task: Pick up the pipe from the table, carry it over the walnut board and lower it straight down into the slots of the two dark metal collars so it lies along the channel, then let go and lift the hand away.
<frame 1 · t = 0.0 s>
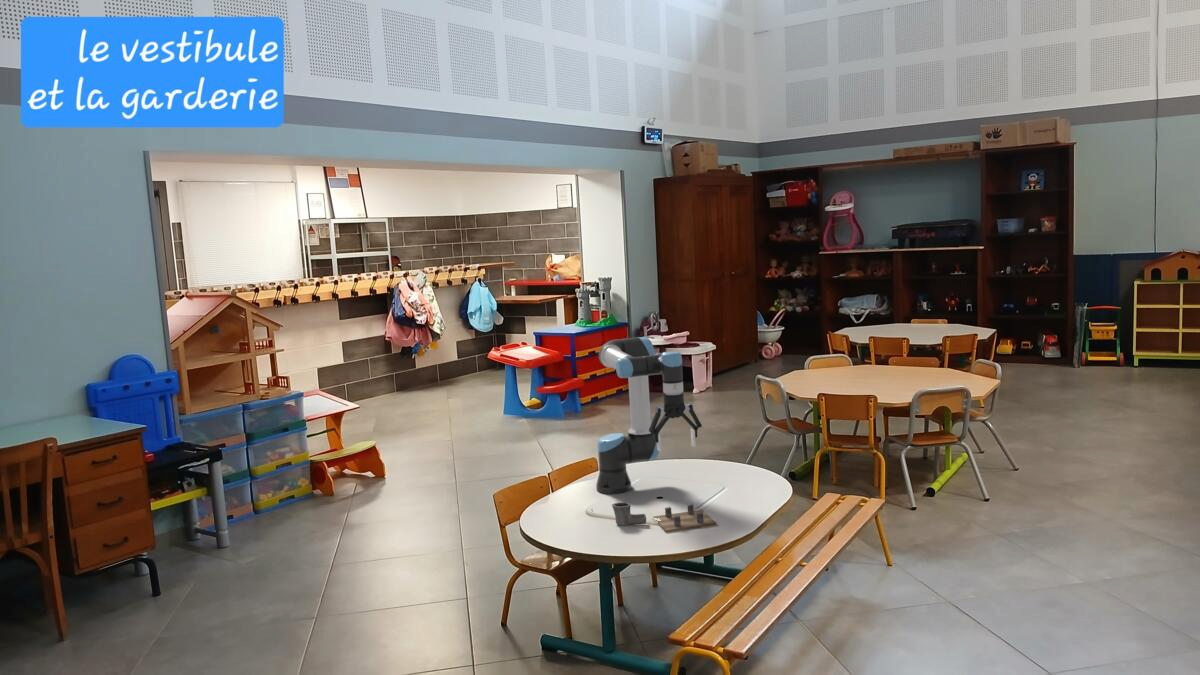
hand: (676, 448, 324), 28 cm above the table, tool pointing down, fingers open, 13 cm apart
pipe: (629, 525, 326), on the table
collar cradle: (684, 522, 325), on the table
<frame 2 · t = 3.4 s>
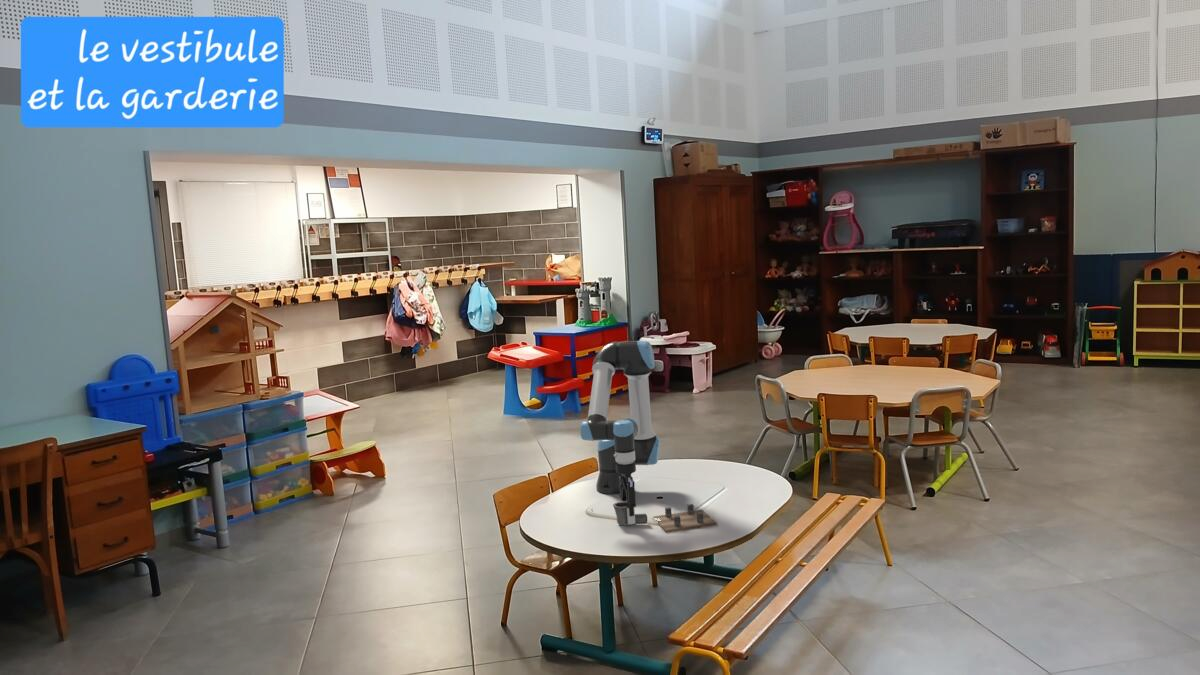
hand: (629, 520, 326), 2 cm above the table, tool pointing down, fingers closed on pipe, 6 cm apart
pipe: (630, 524, 326), on the table, touching gripper
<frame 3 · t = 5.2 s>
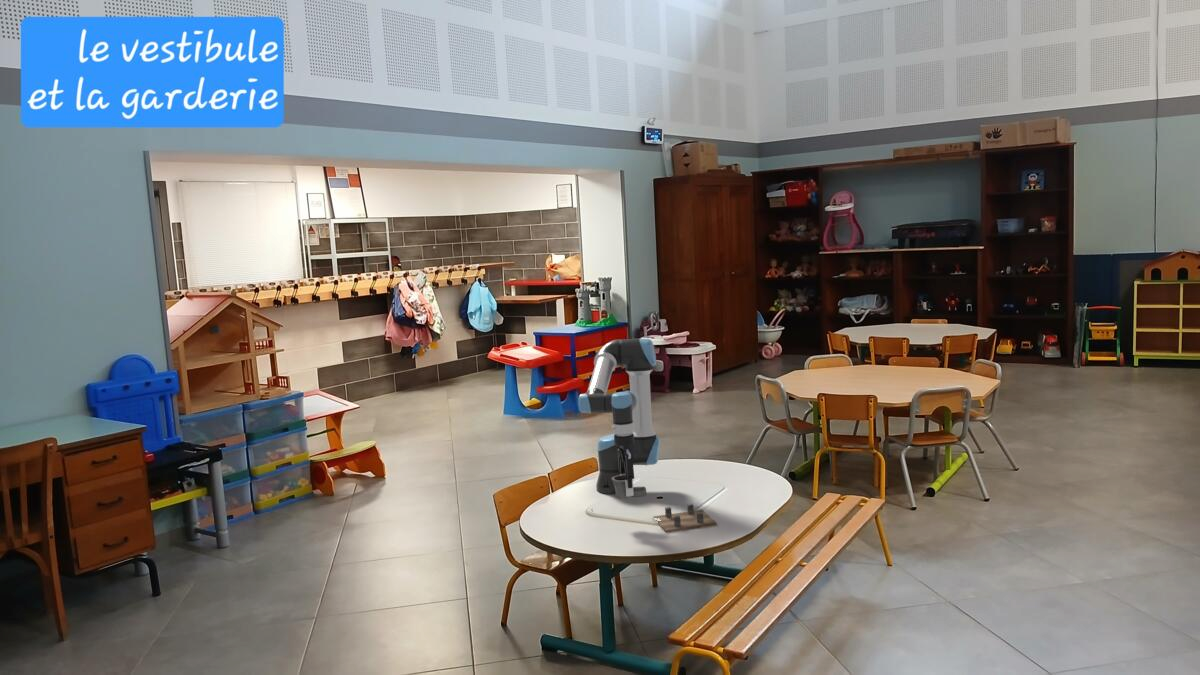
hand: (627, 493, 325), 12 cm above the table, tool pointing down, fingers closed on pipe, 6 cm apart
pipe: (629, 497, 325), point 10 cm above the table, touching gripper
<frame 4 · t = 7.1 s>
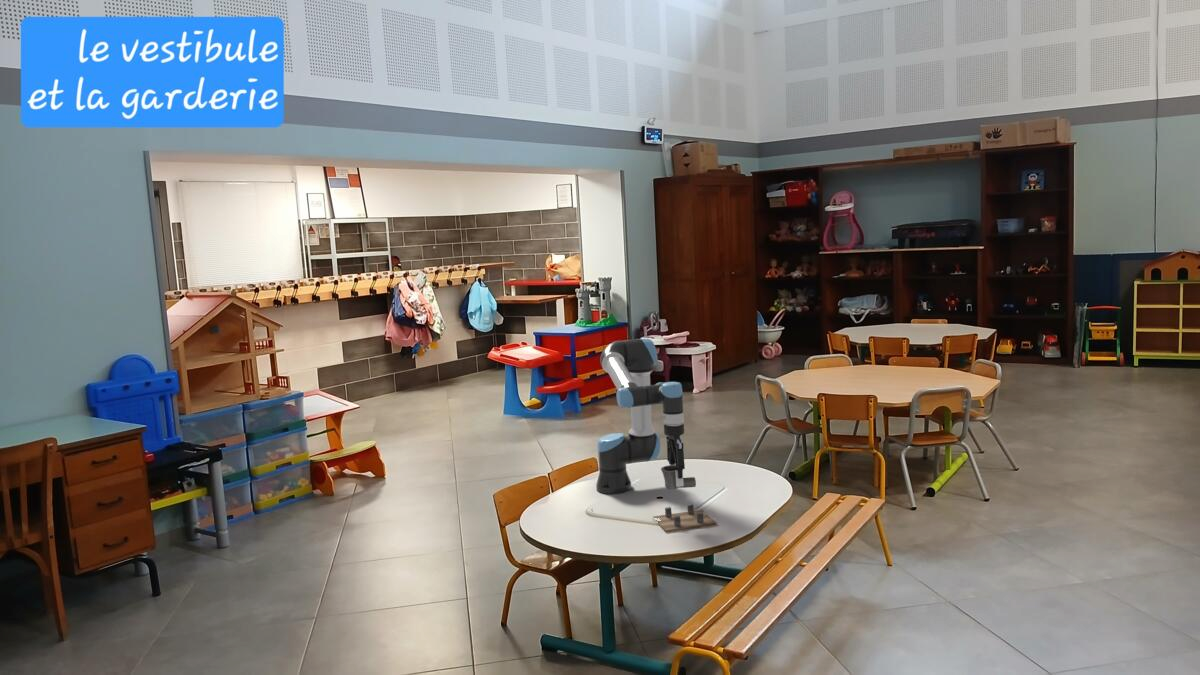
hand: (677, 483, 323), 15 cm above the table, tool pointing down, fingers closed on pipe, 6 cm apart
pipe: (678, 488, 323), point 13 cm above the table, touching gripper
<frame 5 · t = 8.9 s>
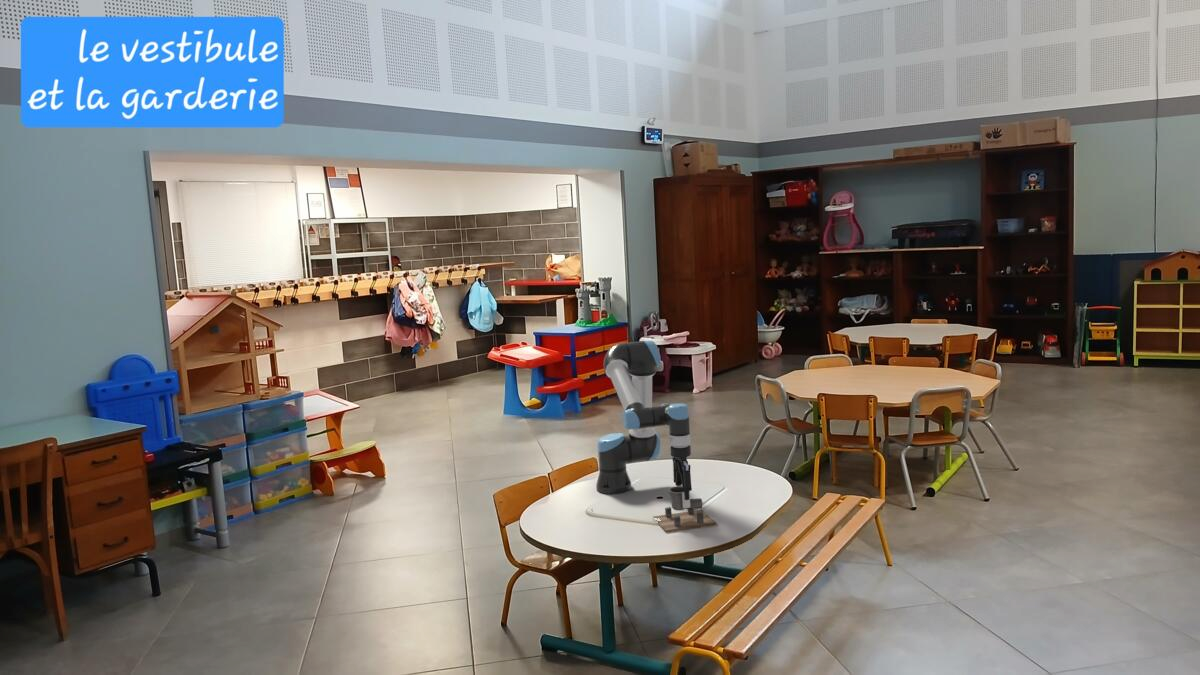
hand: (683, 504, 324), 7 cm above the table, tool pointing down, fingers closed on pipe, 6 cm apart
pipe: (685, 509, 324), point 5 cm above the table, touching gripper
when the fingers open (3 cm above the table, at t = 10.4 s): pipe stays where it is, resting on collar cradle.
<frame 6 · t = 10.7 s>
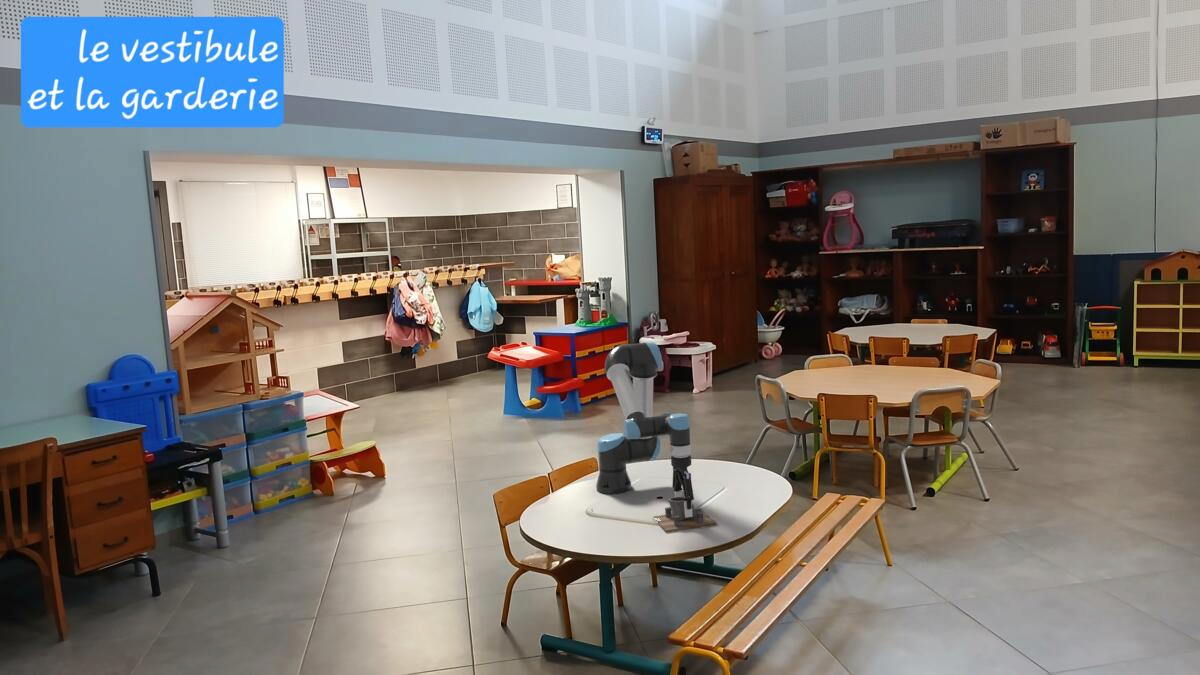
hand: (683, 512, 324), 4 cm above the table, tool pointing down, fingers open, 10 cm apart
pipe: (685, 519, 325), point 1 cm above the table, touching collar cradle
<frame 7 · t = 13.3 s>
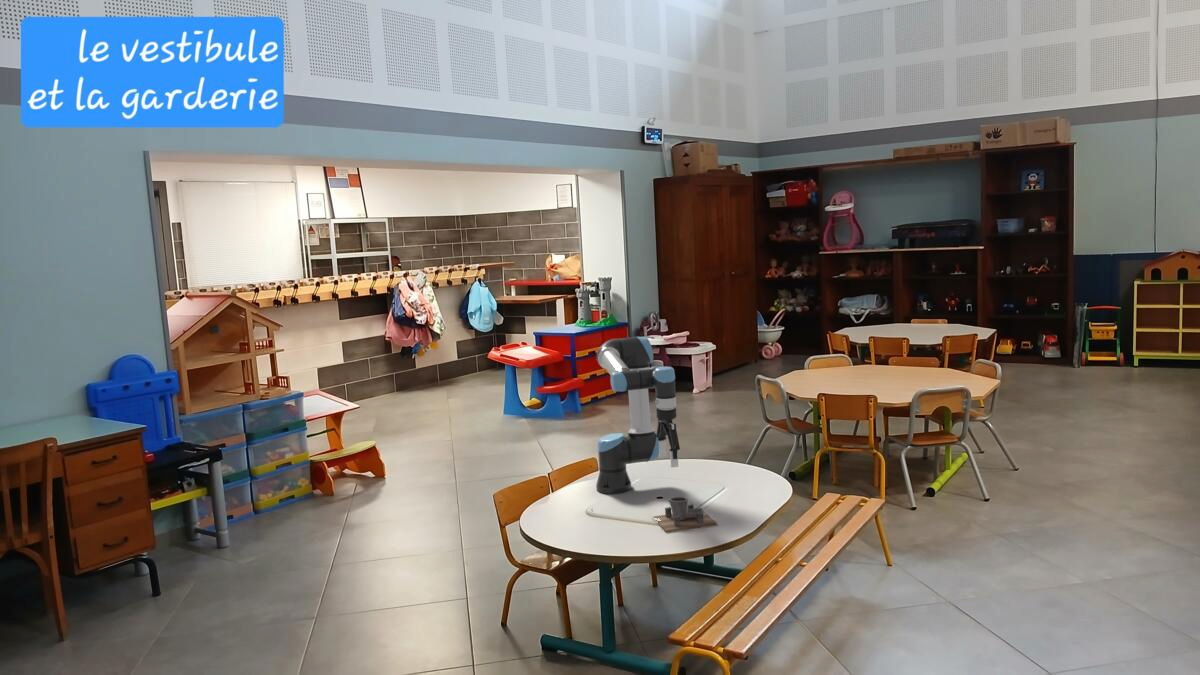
hand: (668, 461, 329), 22 cm above the table, tool pointing down, fingers open, 13 cm apart
nothing on the table moved.
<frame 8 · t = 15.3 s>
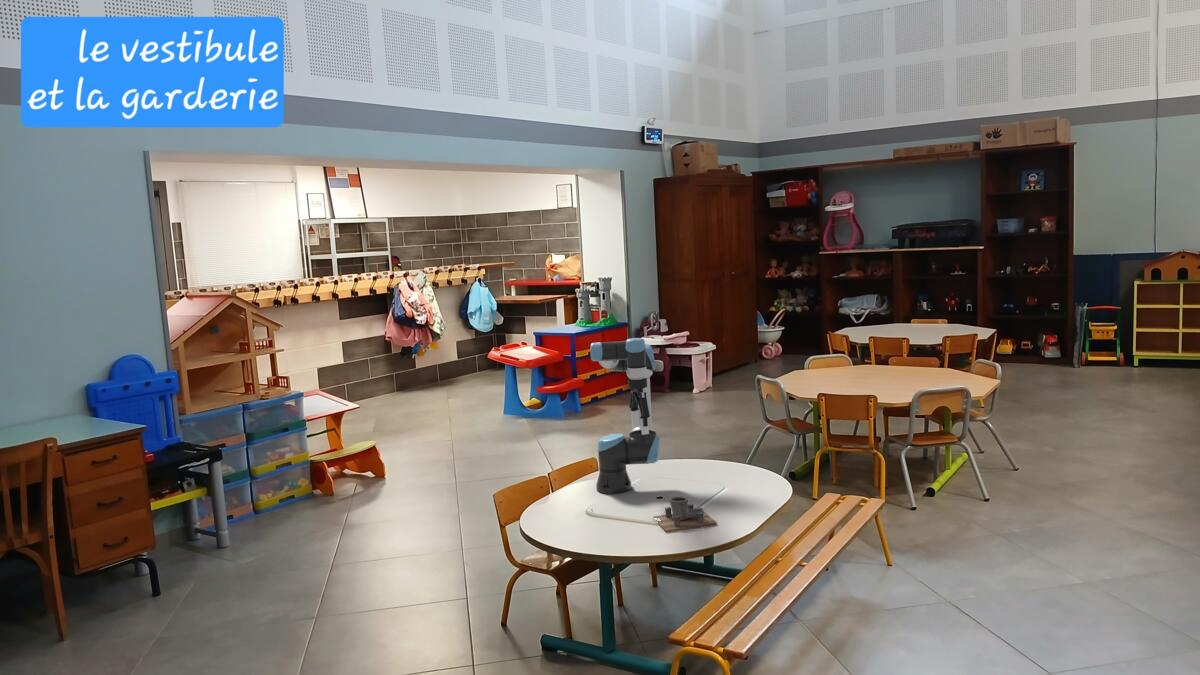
hand: (640, 430, 340), 32 cm above the table, tool pointing down, fingers open, 13 cm apart
nothing on the table moved.
at the end: pipe 1.0 cm off-centre on the collar cradle, point 0.8 cm above the collar cradle's base; the gripper is holding nothing; pipe tilted 0° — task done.
